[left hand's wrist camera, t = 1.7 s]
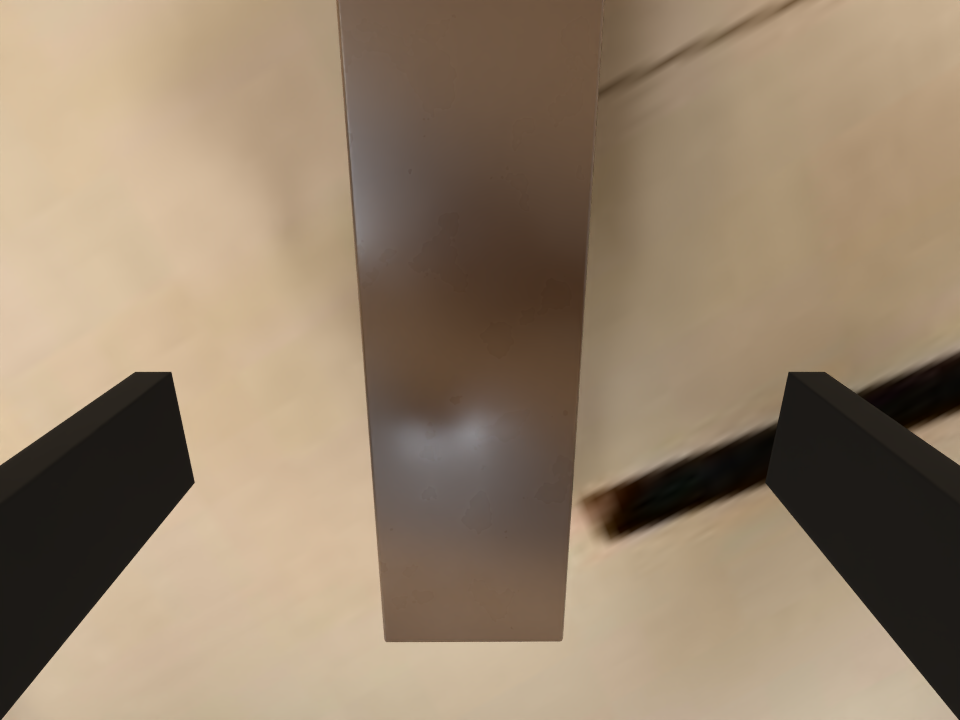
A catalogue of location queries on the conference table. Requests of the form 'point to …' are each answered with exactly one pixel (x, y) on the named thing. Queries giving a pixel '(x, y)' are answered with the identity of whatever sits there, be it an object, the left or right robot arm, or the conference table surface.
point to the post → (471, 299)
